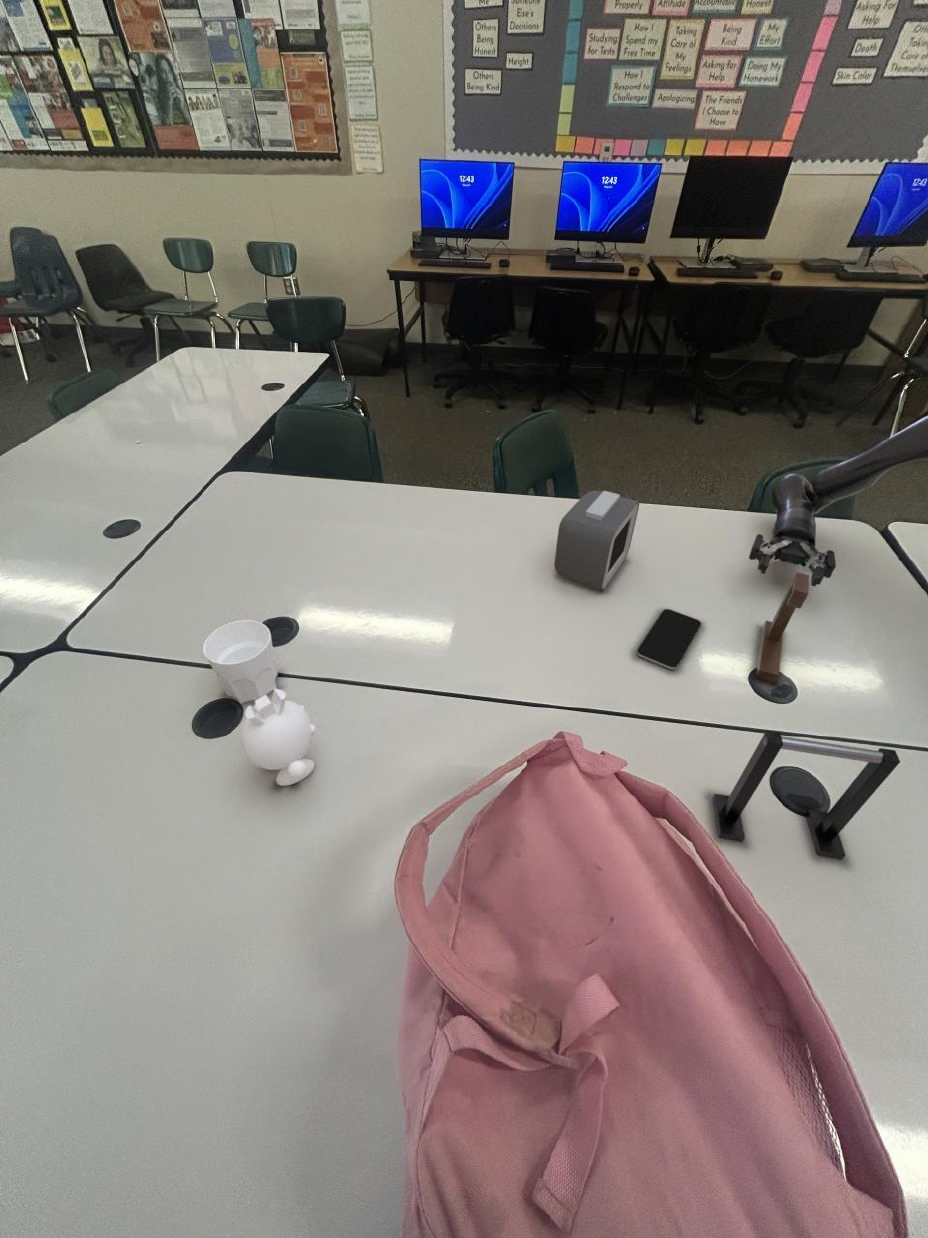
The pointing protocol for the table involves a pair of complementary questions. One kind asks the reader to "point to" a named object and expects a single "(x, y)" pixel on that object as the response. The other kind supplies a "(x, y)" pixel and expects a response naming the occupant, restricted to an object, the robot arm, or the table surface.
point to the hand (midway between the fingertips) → (789, 576)
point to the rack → (820, 823)
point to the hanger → (780, 629)
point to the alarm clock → (595, 538)
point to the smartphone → (669, 639)
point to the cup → (242, 659)
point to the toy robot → (278, 737)
